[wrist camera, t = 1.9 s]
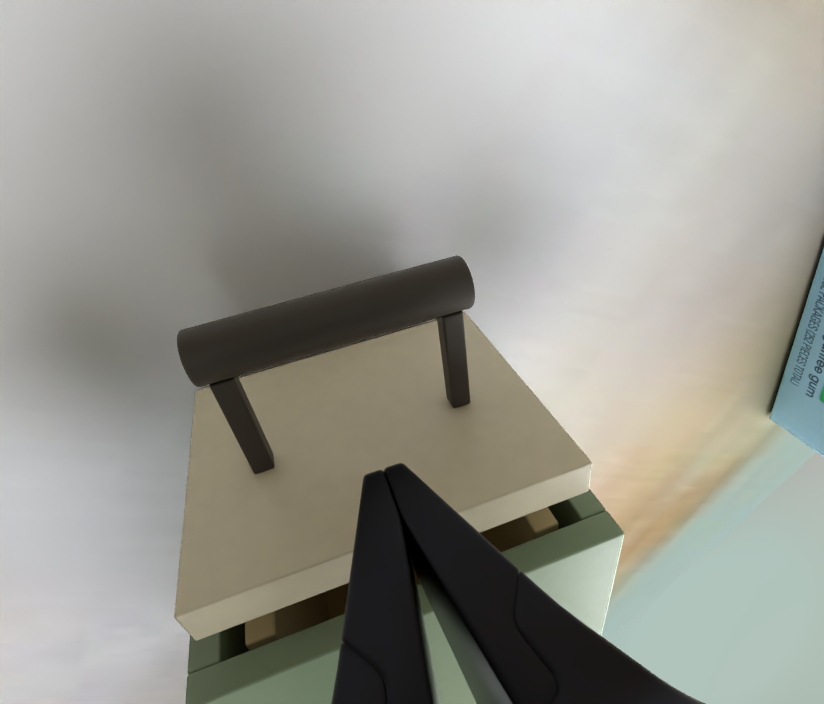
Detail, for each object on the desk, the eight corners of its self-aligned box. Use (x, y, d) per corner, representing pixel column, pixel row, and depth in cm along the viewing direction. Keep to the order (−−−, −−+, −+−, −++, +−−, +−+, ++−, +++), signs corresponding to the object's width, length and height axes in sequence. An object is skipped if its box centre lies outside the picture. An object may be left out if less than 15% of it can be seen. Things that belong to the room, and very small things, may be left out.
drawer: (131, 271, 14) (45, 479, 8) (455, 192, 16) (615, 304, 9) (293, 573, 24) (317, 775, 18) (480, 504, 26) (565, 663, 19)
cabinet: (203, 423, 19) (183, 712, 11) (473, 340, 21) (625, 533, 13) (298, 593, 27) (327, 832, 19) (486, 522, 29) (585, 710, 21)
